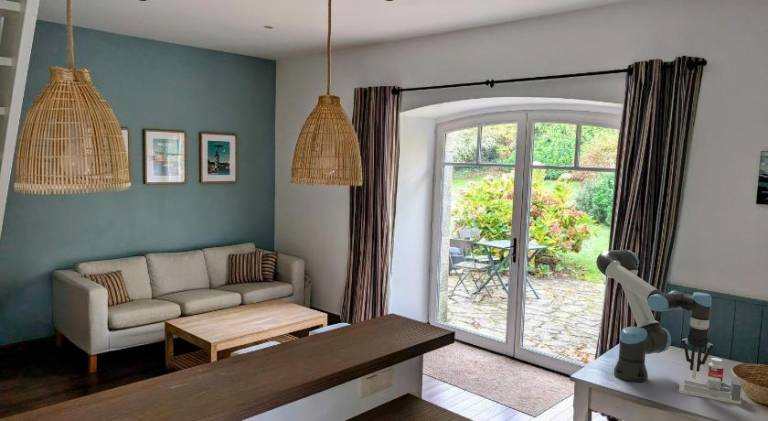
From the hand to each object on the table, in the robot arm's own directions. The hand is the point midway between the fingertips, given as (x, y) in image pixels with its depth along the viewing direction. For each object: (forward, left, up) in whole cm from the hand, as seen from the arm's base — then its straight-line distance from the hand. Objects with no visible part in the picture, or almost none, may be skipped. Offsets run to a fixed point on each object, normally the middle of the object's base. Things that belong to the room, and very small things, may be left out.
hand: (693, 377), depth 260 cm
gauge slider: (+9, -2, -5) cm, 10 cm away
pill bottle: (+9, +20, -7) cm, 23 cm away
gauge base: (+6, 0, -6) cm, 9 cm away
